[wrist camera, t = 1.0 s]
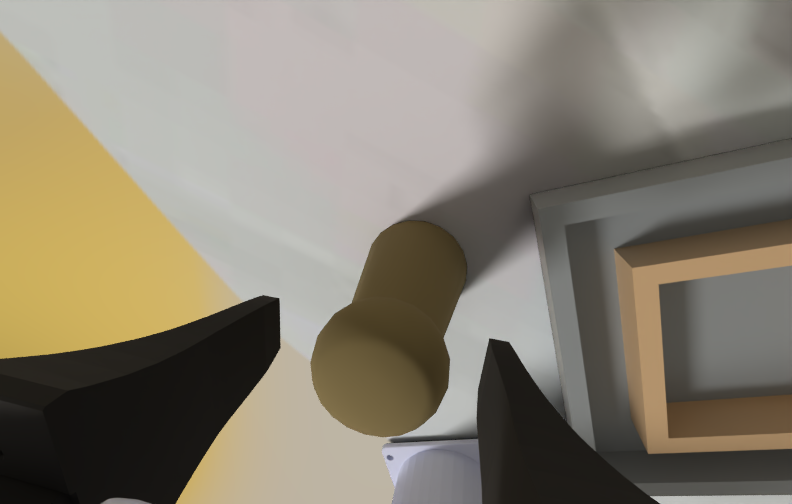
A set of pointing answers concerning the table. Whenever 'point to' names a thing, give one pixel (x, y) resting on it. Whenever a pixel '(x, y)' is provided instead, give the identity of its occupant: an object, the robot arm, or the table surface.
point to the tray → (678, 319)
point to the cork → (392, 333)
